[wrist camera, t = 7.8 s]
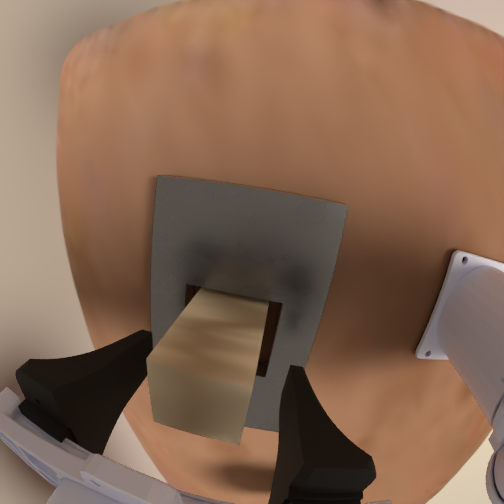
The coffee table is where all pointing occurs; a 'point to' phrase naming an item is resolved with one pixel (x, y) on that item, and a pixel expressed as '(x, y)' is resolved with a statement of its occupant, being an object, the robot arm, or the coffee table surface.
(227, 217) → the slotted plate
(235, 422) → the birch peg
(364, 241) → the coffee table surface
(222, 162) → the coffee table surface
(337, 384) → the coffee table surface
